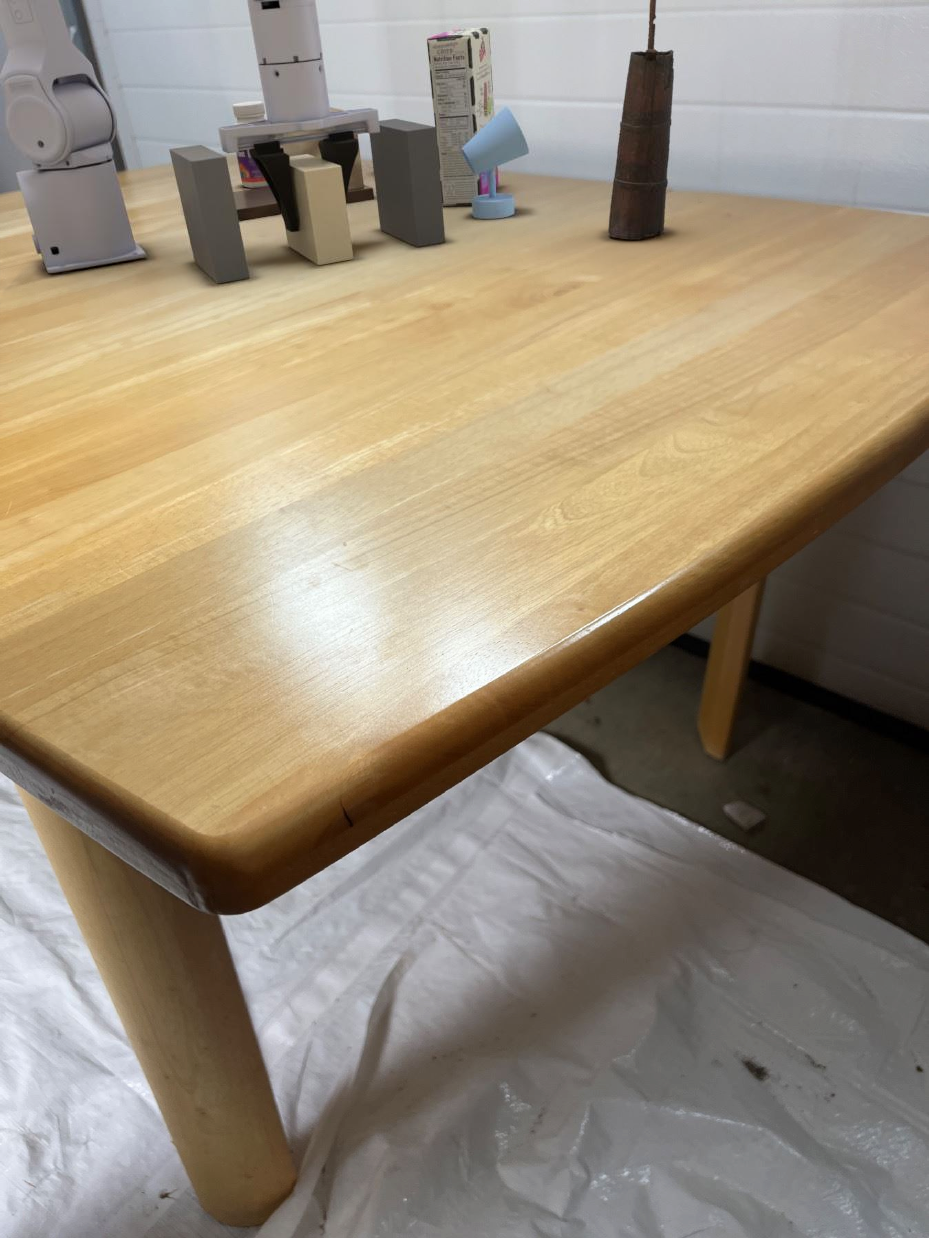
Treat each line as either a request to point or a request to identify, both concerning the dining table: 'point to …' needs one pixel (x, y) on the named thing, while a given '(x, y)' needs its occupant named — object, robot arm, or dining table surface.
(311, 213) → the cream book
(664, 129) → the butter churn
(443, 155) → the candy bar box
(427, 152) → the grey books
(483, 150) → the spotlight
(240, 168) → the pill bottle
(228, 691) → the dining table surface
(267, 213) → the shelf board
